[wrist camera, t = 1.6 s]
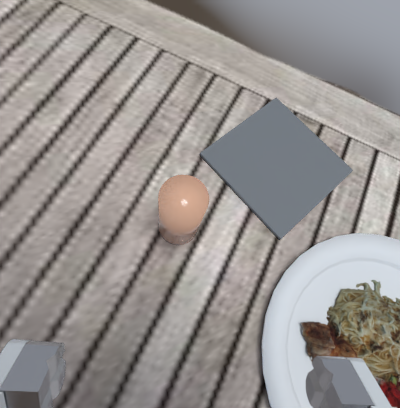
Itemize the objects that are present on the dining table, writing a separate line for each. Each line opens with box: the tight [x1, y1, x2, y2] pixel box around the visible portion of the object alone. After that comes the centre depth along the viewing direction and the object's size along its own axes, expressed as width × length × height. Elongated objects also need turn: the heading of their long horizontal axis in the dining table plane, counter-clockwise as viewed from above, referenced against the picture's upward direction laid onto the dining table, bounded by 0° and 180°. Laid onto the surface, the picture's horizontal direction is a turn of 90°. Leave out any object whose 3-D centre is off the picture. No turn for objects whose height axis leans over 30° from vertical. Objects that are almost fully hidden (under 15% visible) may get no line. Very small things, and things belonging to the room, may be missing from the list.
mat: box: [200, 98, 353, 240], centre depth 44 cm, size 16×16×1 cm
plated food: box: [262, 233, 400, 408], centre depth 36 cm, size 30×30×3 cm
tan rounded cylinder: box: [158, 175, 209, 245], centre depth 35 cm, size 5×5×10 cm
